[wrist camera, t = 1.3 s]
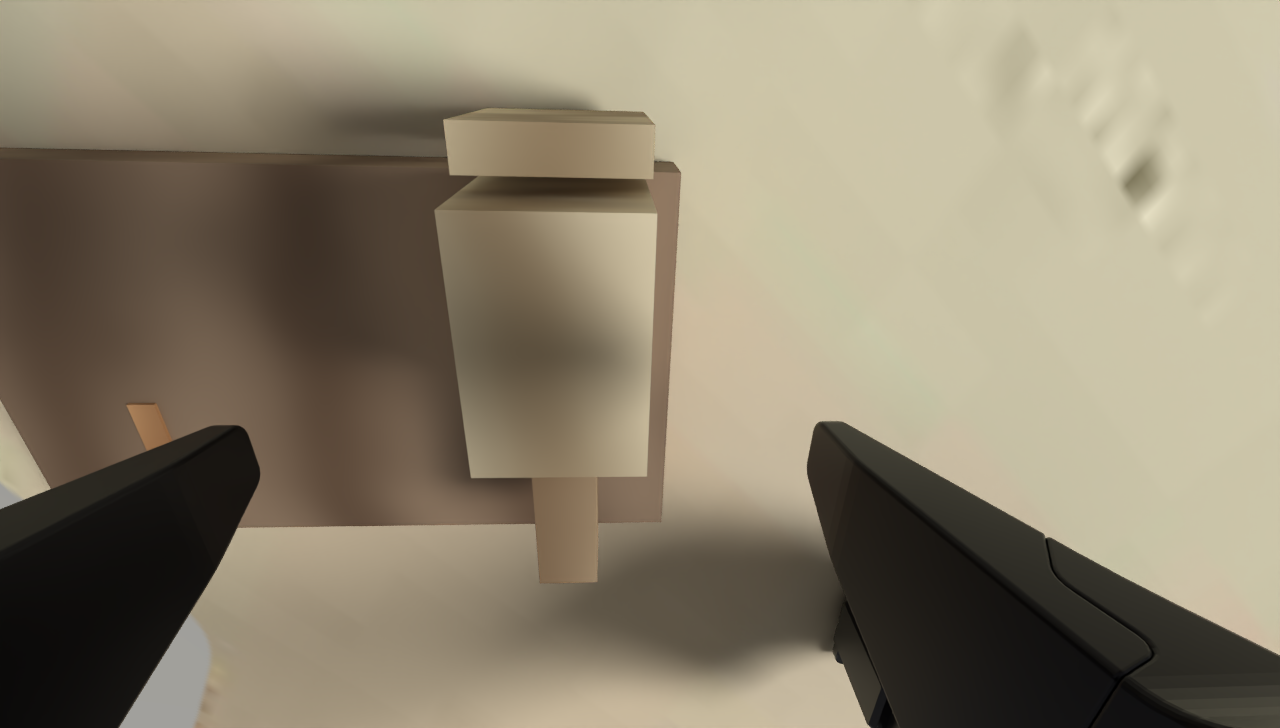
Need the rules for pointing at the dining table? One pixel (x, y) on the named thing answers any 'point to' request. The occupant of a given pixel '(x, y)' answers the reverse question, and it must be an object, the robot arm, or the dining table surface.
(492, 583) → the dining table surface
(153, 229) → the walnut board
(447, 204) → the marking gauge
